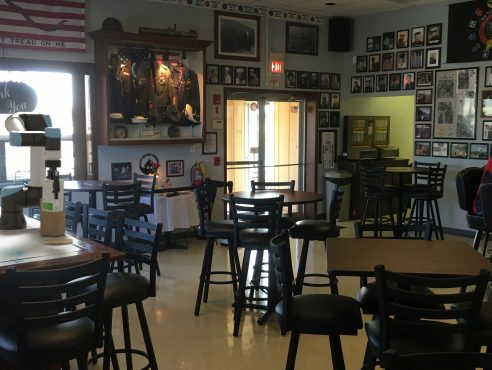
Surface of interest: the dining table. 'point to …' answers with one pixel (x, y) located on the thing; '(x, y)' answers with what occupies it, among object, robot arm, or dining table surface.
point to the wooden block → (52, 221)
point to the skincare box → (51, 196)
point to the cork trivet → (57, 241)
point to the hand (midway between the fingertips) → (53, 205)
